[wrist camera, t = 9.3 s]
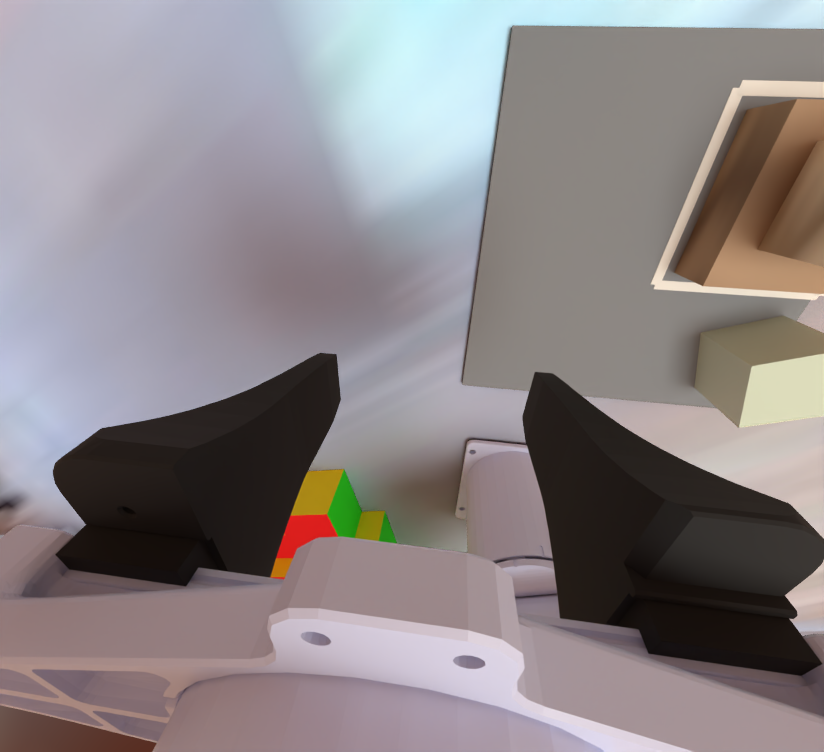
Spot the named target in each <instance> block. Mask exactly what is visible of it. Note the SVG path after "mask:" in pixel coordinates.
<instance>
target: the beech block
mask: <svg viewBox="0 0 824 752" xmlns="http://www.w3.org/2000/svg"><path fill="white" fill-rule="evenodd" d="M757 250H761V251H765V252H768V253H772V254H776V255H780V256H784V257H787V258H791V259H795V260H799V261H803V262H807V263H810V264H814V265H818V266H822V267H824V141H817V143H816V145H815V147H814V148H813V150H812V152H811V154H810V156H809V157H808V159H807V161H806V163H805V165H804V167H803V168H802V170H801V172H800V174H799V176H798V177H797V179H796V181H795V183H794V185H793V186H792V188H791V190H790V192H789V194H788V195H787V197H786V199H785V201H784V203H783V204H782V206H781V208H780V210H779V212H778V213H777V215H776V217H775V219H774V221H773V222H772V224H771V226H770V228H769V230H768V231H767V233H766V235H765V237H764V239H763V240H762V242H761V244H760V246H759V248H758V249H757Z"/></svg>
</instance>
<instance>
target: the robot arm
mask: <svg viewBox="0 0 824 752" xmlns="http://www.w3.org/2000/svg"><path fill="white" fill-rule="evenodd" d="M340 400H341V397H340V387H339V376H338V365H337V355H336V354H326V353H319V354H317V355H315V356H313V357H311V358H309V359H307V360H305V361H304V362H302V363H300V364H298V365H296V366H295V367H293V368H291V369H289V370H287V371H286V372H284V373H282V374H280V375H278V376H276V377H274V378H272V379H270V380H268V381H266V382H264V383H262V384H260V385H258V386H256V387H254V388H252V389H249V390H247V391H245V392H242V393H240V394H237V395H235V396H232V397H229V398H227V399H224V400H221V401H218V402H215V403H212V404H208V405H205V406H202V407H199V408H196V409H192V410H189V411H185V412H181V413H177V414H173V415H169V416H165V417H161V418H156V419H151V420H147V421H141V422H135V423H130V424H124V425H119V426H113V427H106V428H102V429H100V430H98V431H97V432H96V433H94V434H93V435H92V436H90V437H89V438H88V439H86V440H85V441H84V442H82V443H81V444H80V445H78V446H77V447H75V448H74V449H73V450H71V451H70V452H69V453H67V454H66V455H64V456H63V457H62V458H61V459H59V460H58V461H57V462H56V463H55V466H54V469H53V476H54V480H55V484H56V485H57V487H58V489H59V490H60V492H61V493H62V495H63V496H64V497H65V498H66V500H67V501H68V502H69V504H70V505H71V506H72V507H73V509H74V510H75V511H76V512H77V514H78V515H79V516H80V518H81V519H82V520H83V521H84V523H85V524H87V525H85V526H84V527H83V528H82V529H81V530H80V531H79V532H78V533H77V534H76V535H75V536H73V535H71V534H69V533H67V532H65V531H61V530H58V529H50V528H43V527H36V526H28V525H18V526H15V527H14V528H13V529H12V530H10V531H9V532H8V533H7V534H6V535H4V536H3V537H2V538H1V539H0V705H2V706H7V707H11V708H16V709H20V710H25V711H30V712H34V713H39V714H43V715H47V716H51V717H55V718H59V719H64V720H68V721H72V722H76V723H80V724H84V725H88V726H92V727H96V728H100V729H104V730H108V731H112V732H116V733H120V734H124V735H128V736H132V737H136V738H140V739H144V740H148V741H152V742H156V743H157V744H156V746H155V748H154V750H153V752H824V634H811V635H805V636H803V637H802V635H801V634H800V633H799V631H798V630H797V629H796V627H795V626H794V625H793V623H792V622H791V621H790V619H794V618H795V617H797V611H796V609H795V608H794V607H793V606H792V604H791V603H790V602H789V600H788V599H787V598H786V597H785V595H786V594H787V593H788V592H789V591H791V590H792V589H793V588H794V587H796V586H797V585H798V584H799V583H801V582H802V581H803V580H805V579H806V578H807V577H808V576H810V575H811V574H812V573H813V572H814V571H815V570H816V569H817V568H818V567H819V566H820V565H821V564H822V562H823V560H824V539H823V538H822V537H821V536H820V535H819V533H818V532H817V531H816V530H815V529H814V528H813V527H812V526H811V525H810V524H809V523H808V522H807V521H806V520H805V519H804V518H803V517H802V516H801V515H800V514H799V513H798V512H797V511H796V510H795V509H794V508H793V507H792V506H791V505H790V504H789V503H786V502H783V501H781V500H778V499H775V498H773V497H770V496H767V495H765V494H762V493H759V492H757V491H754V490H751V489H749V488H746V487H743V486H741V485H738V484H735V483H733V482H731V481H728V480H726V479H723V478H721V477H719V476H717V475H714V474H712V473H710V472H707V471H705V470H703V469H701V468H698V467H696V466H694V465H692V464H690V463H688V462H686V461H683V460H681V459H680V458H678V457H676V456H674V455H672V454H670V453H668V452H666V451H664V450H662V449H660V448H658V447H656V446H655V445H653V444H651V443H649V442H647V441H646V440H644V439H642V438H641V437H639V436H638V435H636V434H634V433H633V432H631V431H629V430H628V429H626V428H625V427H623V426H621V425H620V424H618V423H617V422H616V421H614V420H613V419H611V418H610V417H609V416H607V415H606V414H604V413H603V412H602V411H600V410H599V409H598V408H596V407H595V406H594V405H592V404H591V403H590V402H589V401H587V400H586V399H585V398H583V397H582V396H581V395H580V394H579V393H577V392H576V391H575V390H574V389H572V388H571V387H570V386H569V385H568V384H566V383H565V382H564V381H563V380H561V379H560V378H559V377H557V376H556V375H554V374H553V373H544V372H535V373H534V377H533V380H532V384H531V388H530V391H529V395H528V399H527V402H526V406H525V410H524V413H523V426H524V433H525V440H526V444H527V445H520V444H510V443H501V442H491V441H481V440H470V441H468V442H467V446H466V452H465V457H464V463H463V469H462V475H461V481H460V487H459V493H458V499H457V505H456V511H455V516H456V517H457V518H459V519H466V522H467V553H466V552H458V551H451V550H443V549H435V548H427V547H420V546H412V545H404V544H396V543H389V542H381V541H373V540H365V539H358V538H350V537H319V538H316V539H314V540H312V541H310V542H308V543H306V544H305V545H303V546H301V547H299V548H297V550H296V552H295V555H294V557H293V560H292V562H291V564H290V567H289V569H288V572H287V574H286V576H285V579H277V578H270V577H271V574H272V570H273V567H274V564H275V560H276V557H277V554H278V551H279V548H280V545H281V542H282V539H283V536H284V533H285V530H286V527H287V524H288V521H289V518H290V516H291V513H292V510H293V507H294V504H295V502H296V499H297V496H298V494H299V491H300V489H301V486H302V483H303V481H304V478H305V476H306V474H307V472H308V470H309V467H310V466H311V464H312V462H313V460H314V458H315V456H316V454H317V452H318V450H319V448H320V446H321V444H322V442H323V441H324V439H325V437H326V435H327V433H328V431H329V429H330V427H331V425H332V423H333V421H334V418H335V415H336V412H337V409H338V406H339V403H340ZM470 450H474V451H470ZM789 618H790V619H789Z"/></svg>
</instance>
